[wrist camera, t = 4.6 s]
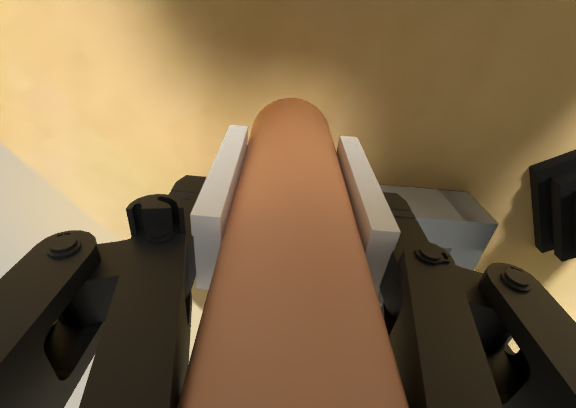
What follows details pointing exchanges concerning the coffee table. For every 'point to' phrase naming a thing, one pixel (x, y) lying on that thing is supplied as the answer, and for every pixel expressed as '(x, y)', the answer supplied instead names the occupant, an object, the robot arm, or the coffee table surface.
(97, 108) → the coffee table surface
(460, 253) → the socket board
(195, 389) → the dowel
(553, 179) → the chess piece
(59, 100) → the coffee table surface
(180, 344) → the robot arm
